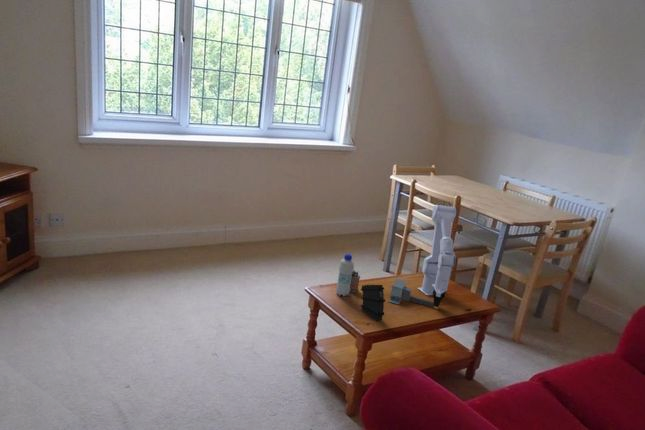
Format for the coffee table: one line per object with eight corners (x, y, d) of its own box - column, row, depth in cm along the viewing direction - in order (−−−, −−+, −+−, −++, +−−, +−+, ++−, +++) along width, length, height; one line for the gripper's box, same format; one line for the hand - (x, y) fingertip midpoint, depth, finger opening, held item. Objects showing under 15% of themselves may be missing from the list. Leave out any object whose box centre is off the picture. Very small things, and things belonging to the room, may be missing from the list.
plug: (438, 306, 226) (441, 296, 224) (437, 309, 223) (440, 299, 221) (402, 296, 231) (404, 286, 229) (401, 299, 228) (403, 289, 226)
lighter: (358, 289, 232) (361, 270, 229) (357, 292, 229) (361, 273, 226) (341, 286, 233) (344, 267, 230) (340, 289, 230) (344, 270, 227)
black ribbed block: (381, 321, 201) (377, 285, 202) (362, 320, 212) (357, 285, 213) (388, 320, 203) (383, 284, 205) (368, 318, 214) (364, 284, 215)
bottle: (351, 297, 223) (357, 257, 217) (337, 297, 221) (343, 257, 215) (347, 291, 229) (353, 251, 223) (333, 290, 227) (339, 251, 221)
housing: (405, 291, 237) (408, 278, 235) (398, 304, 222) (401, 291, 220) (395, 289, 238) (397, 276, 236) (388, 301, 224) (390, 288, 222)
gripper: (435, 270, 228) (430, 296, 232) (431, 281, 215) (425, 308, 219) (451, 274, 226) (445, 300, 230) (447, 285, 213) (441, 313, 217)
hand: (436, 304), depth 224 cm, fingers closed on plug, 2 cm apart
